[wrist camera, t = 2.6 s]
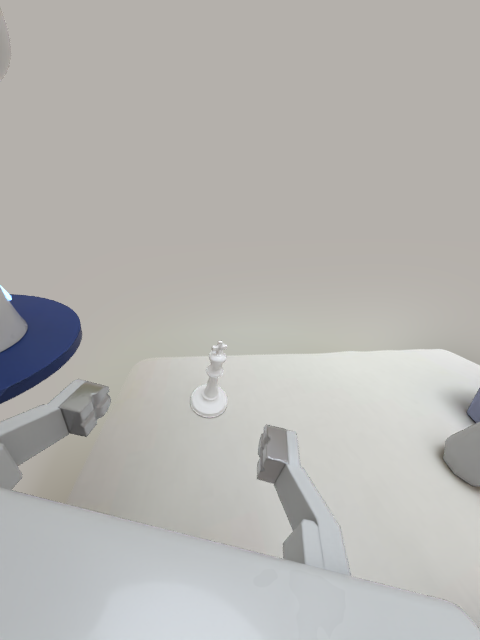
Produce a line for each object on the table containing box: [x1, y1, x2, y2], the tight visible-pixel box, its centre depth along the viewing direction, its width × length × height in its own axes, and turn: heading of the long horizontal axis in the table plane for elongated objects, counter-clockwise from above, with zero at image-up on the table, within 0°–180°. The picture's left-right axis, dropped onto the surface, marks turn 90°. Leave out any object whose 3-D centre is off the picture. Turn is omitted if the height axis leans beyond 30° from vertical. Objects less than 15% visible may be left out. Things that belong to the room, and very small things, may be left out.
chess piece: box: [190, 341, 227, 418], centre depth 26 cm, size 5×5×10 cm
